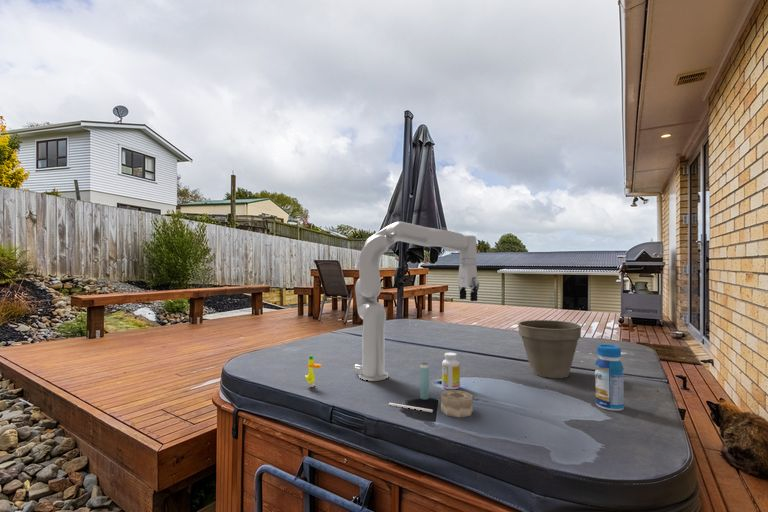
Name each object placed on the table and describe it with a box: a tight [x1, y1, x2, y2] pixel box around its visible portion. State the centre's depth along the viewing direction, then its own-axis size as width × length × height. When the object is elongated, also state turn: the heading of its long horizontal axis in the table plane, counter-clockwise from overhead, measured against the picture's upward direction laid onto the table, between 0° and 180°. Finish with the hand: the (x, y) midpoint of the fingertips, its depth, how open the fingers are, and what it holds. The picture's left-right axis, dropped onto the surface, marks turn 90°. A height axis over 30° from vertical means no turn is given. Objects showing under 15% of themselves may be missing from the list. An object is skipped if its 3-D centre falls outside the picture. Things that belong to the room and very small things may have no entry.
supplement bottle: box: [441, 352, 461, 391], centre depth 142 cm, size 7×7×13 cm
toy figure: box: [304, 354, 323, 386], centre depth 142 cm, size 7×4×12 cm, turn 81°
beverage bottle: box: [594, 344, 625, 412], centre depth 123 cm, size 8×8×20 cm
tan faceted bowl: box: [440, 389, 474, 418], centre depth 119 cm, size 10×10×5 cm
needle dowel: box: [419, 362, 430, 400], centre depth 131 cm, size 3×3×12 cm
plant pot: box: [517, 319, 582, 379], centre depth 161 cm, size 25×25×22 cm
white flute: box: [388, 402, 434, 413], centre depth 121 cm, size 15×1×1 cm, turn 67°
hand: (468, 299), depth 169 cm, fingers open, 9 cm apart
